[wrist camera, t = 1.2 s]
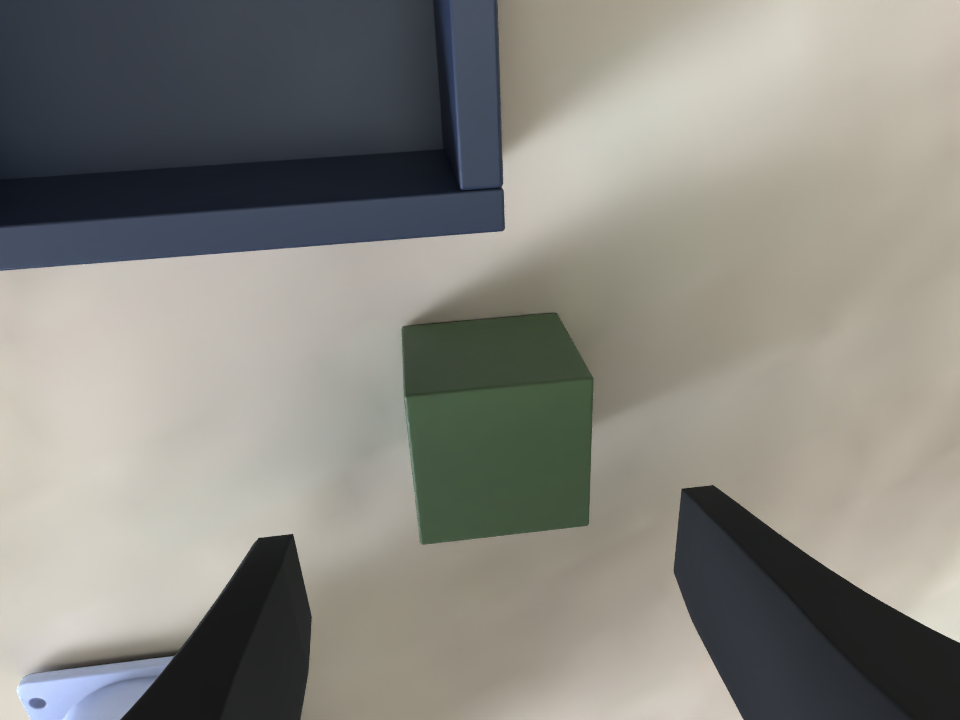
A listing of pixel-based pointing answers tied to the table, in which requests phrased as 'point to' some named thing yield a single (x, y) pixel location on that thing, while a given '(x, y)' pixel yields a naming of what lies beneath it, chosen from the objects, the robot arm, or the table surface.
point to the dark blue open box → (243, 126)
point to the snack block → (497, 427)
